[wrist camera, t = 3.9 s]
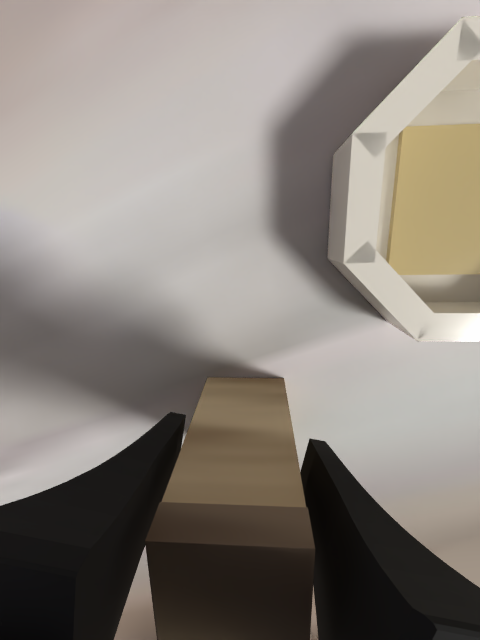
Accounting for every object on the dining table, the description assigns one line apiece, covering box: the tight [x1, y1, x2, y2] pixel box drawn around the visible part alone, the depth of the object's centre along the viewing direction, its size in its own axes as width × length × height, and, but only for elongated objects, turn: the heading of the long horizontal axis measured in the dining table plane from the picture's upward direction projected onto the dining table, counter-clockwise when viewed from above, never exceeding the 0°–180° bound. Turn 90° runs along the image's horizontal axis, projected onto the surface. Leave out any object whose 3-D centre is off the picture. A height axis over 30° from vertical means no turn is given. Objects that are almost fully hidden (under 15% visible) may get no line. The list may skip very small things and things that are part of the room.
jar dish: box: [327, 16, 480, 342], centre depth 11 cm, size 9×9×2 cm
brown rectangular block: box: [145, 377, 315, 640], centre depth 11 cm, size 4×4×8 cm
